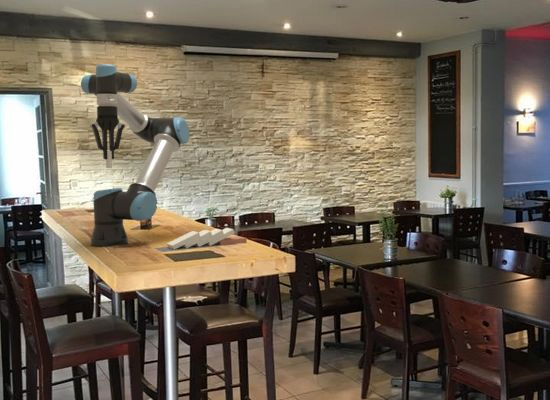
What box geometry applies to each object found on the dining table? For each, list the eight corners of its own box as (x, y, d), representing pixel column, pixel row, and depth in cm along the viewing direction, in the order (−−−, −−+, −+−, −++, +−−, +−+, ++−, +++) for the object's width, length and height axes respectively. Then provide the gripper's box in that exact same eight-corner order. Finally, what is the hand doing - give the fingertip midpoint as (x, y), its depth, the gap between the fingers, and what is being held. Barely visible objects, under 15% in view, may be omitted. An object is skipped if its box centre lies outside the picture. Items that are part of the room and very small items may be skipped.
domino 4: (208, 242, 246) (233, 229, 251) (202, 240, 251) (226, 227, 256) (210, 246, 246) (234, 233, 252) (203, 244, 252) (228, 231, 257)
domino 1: (172, 245, 238) (198, 232, 243) (166, 243, 243) (192, 230, 249) (174, 249, 238) (200, 236, 244) (168, 247, 244) (194, 234, 249)
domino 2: (184, 244, 241) (210, 231, 246) (178, 242, 246) (204, 229, 251) (186, 248, 241) (212, 235, 247) (180, 246, 246) (205, 233, 252)
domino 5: (220, 240, 249) (246, 238, 255) (214, 238, 254) (239, 236, 260) (220, 245, 249) (246, 242, 255) (214, 243, 254) (239, 240, 260)
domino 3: (197, 243, 243) (222, 230, 249) (191, 241, 249) (215, 228, 254) (198, 247, 244) (223, 234, 249) (192, 245, 249) (217, 232, 254)
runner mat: (153, 249, 242) (153, 248, 242) (225, 242, 259) (225, 241, 259) (162, 253, 234) (162, 251, 234) (236, 245, 251) (236, 244, 250)
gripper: (92, 104, 227) (94, 168, 229) (127, 105, 234) (128, 167, 236) (87, 106, 234) (89, 168, 236) (120, 106, 241) (122, 167, 243)
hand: (109, 167), depth 236 cm, fingers closed
